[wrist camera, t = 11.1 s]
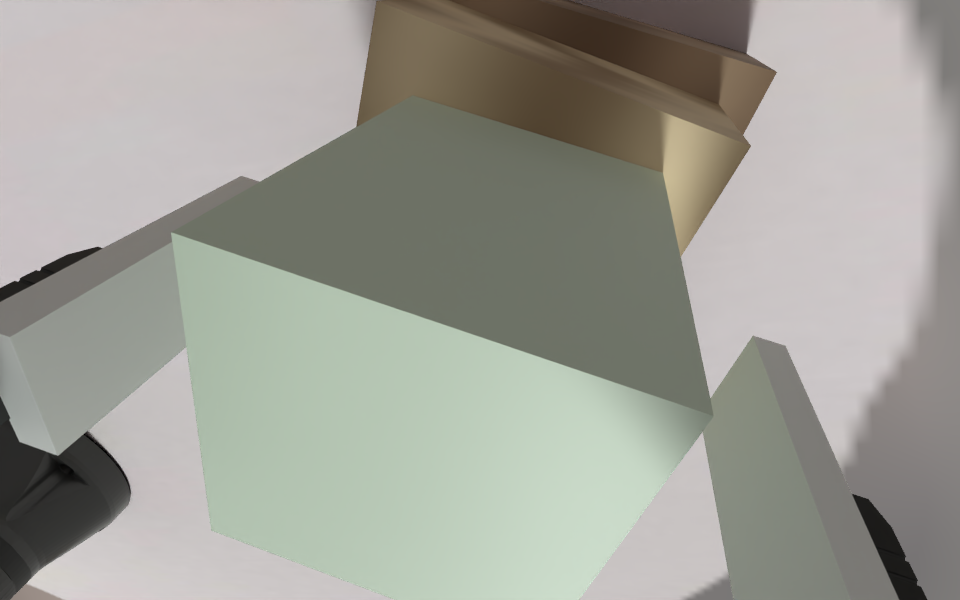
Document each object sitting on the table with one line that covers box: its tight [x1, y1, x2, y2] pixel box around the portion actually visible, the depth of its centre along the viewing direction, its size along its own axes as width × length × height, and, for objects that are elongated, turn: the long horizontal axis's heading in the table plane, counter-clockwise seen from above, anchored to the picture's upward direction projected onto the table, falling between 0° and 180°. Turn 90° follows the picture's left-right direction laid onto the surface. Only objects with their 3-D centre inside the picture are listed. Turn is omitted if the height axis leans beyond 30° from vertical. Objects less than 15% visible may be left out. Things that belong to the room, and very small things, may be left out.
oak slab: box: [356, 0, 751, 257], centre depth 18 cm, size 10×10×5 cm
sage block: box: [171, 95, 714, 600], centre depth 12 cm, size 7×7×9 cm
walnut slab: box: [450, 0, 777, 135], centre depth 22 cm, size 12×12×5 cm
